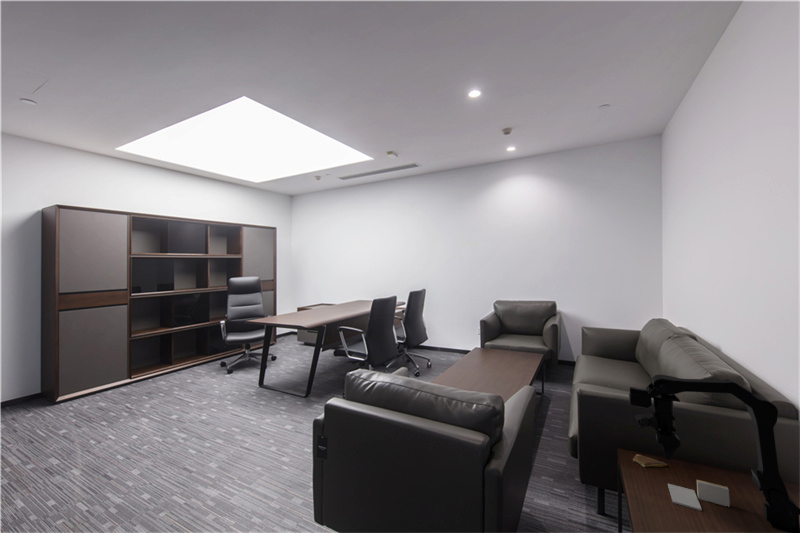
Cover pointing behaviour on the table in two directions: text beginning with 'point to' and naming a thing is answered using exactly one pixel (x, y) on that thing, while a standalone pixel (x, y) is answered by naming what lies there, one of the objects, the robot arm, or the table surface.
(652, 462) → the shard
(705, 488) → the card
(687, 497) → the mat
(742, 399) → the robot arm
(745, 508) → the table surface
